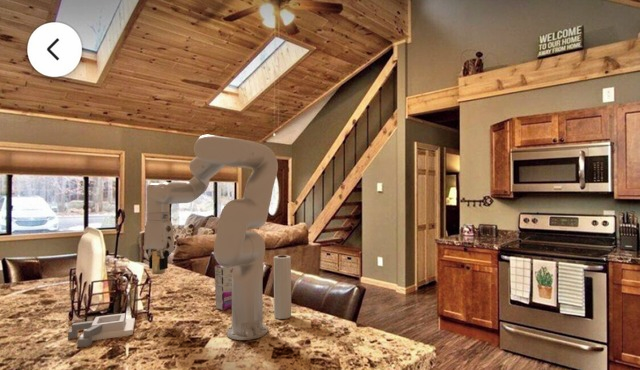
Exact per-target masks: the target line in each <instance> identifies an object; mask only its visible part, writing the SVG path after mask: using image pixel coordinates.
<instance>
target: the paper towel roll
mask: <svg viewBox="0 0 640 370" xmlns="http://www.w3.org/2000/svg"><path fill="white" fill-rule="evenodd" d="M291 262H292V256H290V255H285V254H277V255H275V256H273V316H274V318H275V319H279V320H285V319H290V318H291V317H292V265H291V264H292V263H291Z"/></svg>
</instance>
